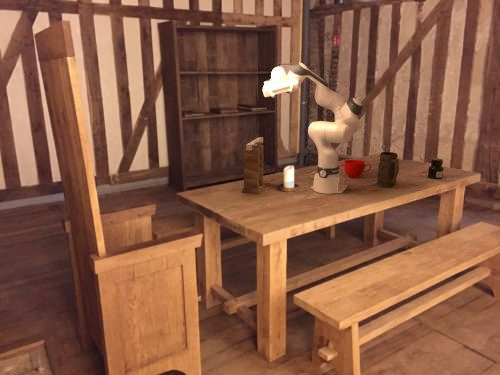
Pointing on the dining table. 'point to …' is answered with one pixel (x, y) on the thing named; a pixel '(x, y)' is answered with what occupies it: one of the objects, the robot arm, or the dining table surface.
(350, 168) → the ceramic cup
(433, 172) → the ink bottle
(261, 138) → the brushed square bar end
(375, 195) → the dining table surface
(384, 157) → the beer stein
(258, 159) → the knife block
